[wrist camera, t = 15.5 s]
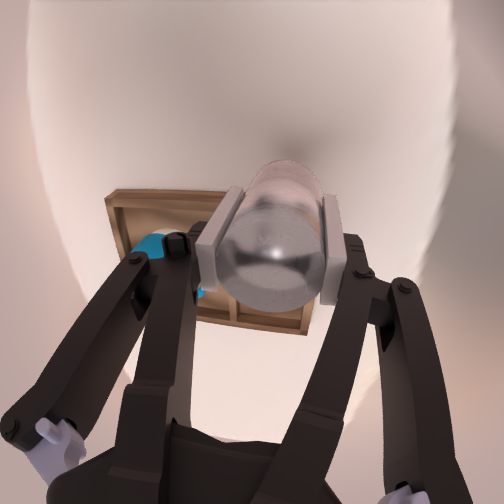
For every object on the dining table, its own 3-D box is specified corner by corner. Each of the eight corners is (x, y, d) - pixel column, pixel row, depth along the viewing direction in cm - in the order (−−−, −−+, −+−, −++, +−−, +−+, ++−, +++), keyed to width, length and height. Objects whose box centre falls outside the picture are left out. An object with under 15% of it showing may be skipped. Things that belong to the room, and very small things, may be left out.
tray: (116, 189, 37) (104, 198, 34) (326, 200, 32) (328, 211, 30) (143, 297, 48) (136, 308, 45) (307, 321, 43) (307, 335, 41)
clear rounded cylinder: (250, 157, 19) (210, 217, 12) (324, 163, 18) (334, 229, 11) (250, 221, 22) (218, 305, 15) (317, 228, 21) (316, 317, 14)
